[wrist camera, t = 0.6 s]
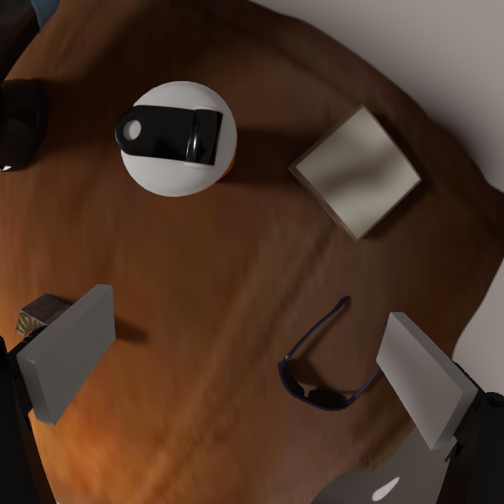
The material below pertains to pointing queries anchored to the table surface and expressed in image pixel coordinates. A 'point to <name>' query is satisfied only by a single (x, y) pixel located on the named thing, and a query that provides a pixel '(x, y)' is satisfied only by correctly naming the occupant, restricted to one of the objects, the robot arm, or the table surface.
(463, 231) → the table surface
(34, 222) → the table surface
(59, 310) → the dark angular channel piece
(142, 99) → the shaker bottle
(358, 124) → the block
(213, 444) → the table surface
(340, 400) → the sunglasses
